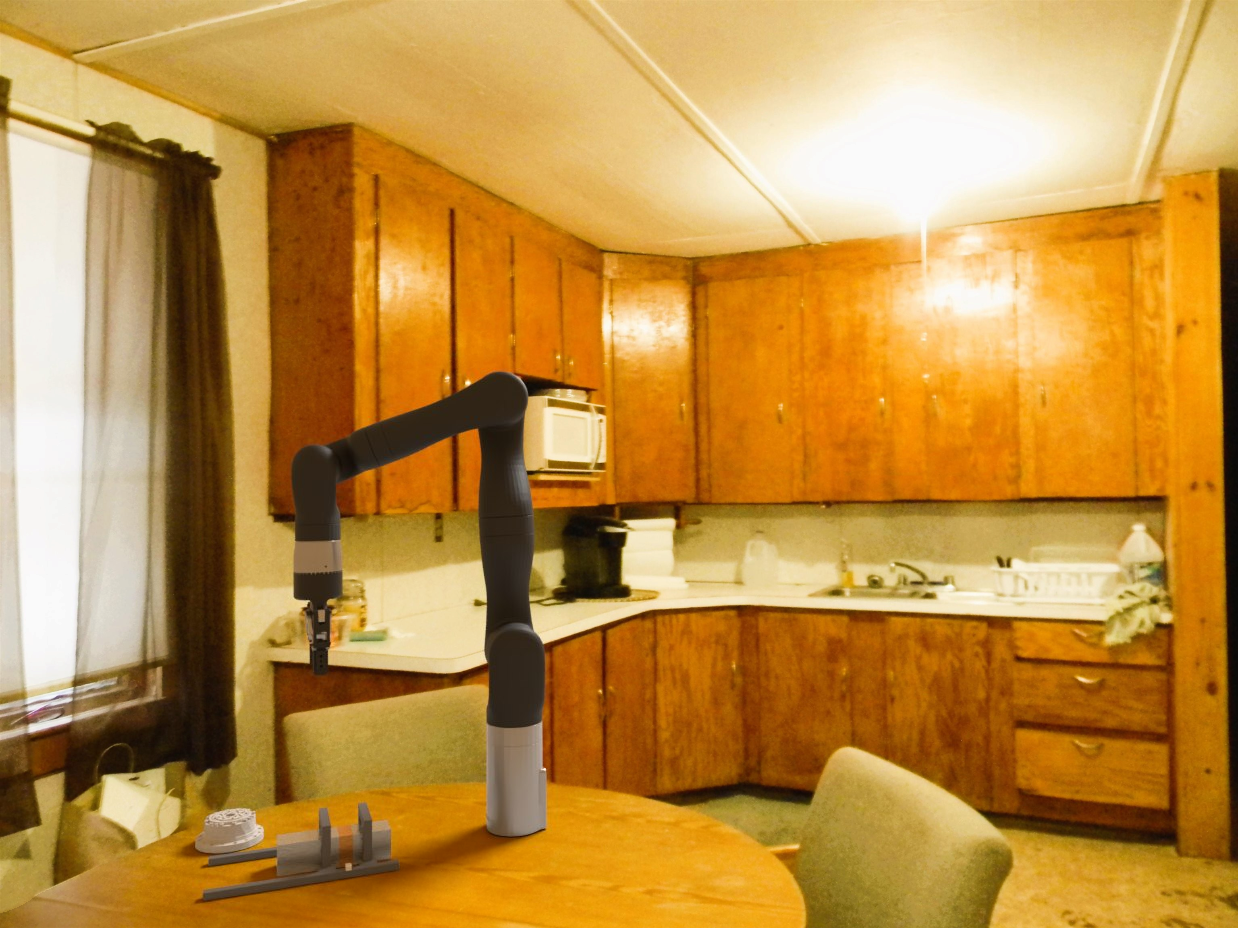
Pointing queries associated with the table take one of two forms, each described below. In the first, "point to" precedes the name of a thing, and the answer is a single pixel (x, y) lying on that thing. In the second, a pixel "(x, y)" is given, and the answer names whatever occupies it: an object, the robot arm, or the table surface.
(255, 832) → the mechanical component
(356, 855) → the bar
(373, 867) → the collar frame
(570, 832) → the table surface
